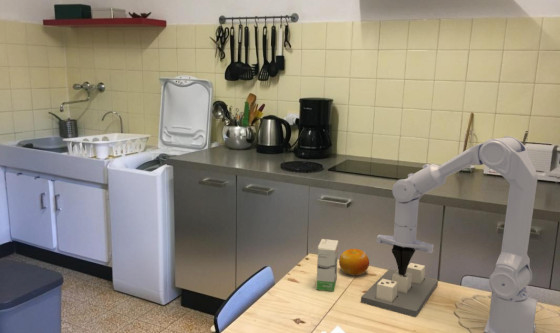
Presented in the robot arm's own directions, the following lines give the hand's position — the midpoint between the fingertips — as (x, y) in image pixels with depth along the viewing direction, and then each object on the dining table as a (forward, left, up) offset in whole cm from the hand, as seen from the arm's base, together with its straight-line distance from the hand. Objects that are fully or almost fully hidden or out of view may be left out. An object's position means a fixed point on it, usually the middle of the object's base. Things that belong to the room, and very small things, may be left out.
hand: (402, 273), depth 125 cm
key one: (-1, -8, -5) cm, 9 cm away
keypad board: (0, 0, -6) cm, 6 cm away
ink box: (+19, +6, -6) cm, 21 cm away
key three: (+2, +7, -5) cm, 9 cm away
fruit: (+16, -6, -6) cm, 18 cm away
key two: (0, 0, -5) cm, 5 cm away
